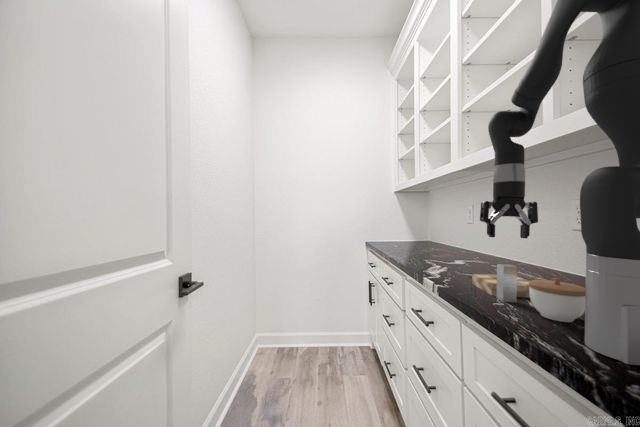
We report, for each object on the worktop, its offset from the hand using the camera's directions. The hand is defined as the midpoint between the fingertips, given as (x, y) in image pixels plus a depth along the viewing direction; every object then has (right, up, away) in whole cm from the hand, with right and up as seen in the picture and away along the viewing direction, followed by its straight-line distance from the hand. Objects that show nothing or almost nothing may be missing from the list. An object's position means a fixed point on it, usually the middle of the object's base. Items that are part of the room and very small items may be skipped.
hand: (507, 237), depth 77 cm
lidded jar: (+3, -18, -12) cm, 22 cm away
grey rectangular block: (0, -18, 0) cm, 18 cm away
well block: (+6, -18, +10) cm, 22 cm away
